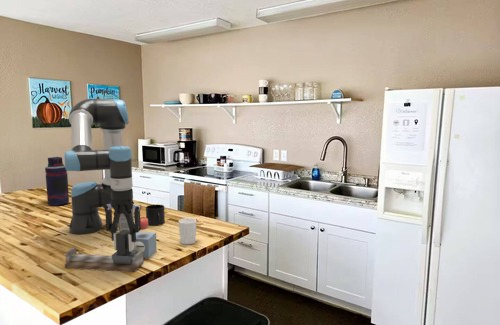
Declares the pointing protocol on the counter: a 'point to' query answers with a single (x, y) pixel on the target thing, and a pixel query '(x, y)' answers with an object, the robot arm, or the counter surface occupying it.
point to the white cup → (187, 230)
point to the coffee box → (124, 222)
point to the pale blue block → (145, 243)
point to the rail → (100, 262)
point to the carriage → (123, 249)
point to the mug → (155, 215)
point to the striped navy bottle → (56, 182)
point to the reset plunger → (144, 223)
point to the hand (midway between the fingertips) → (124, 249)
